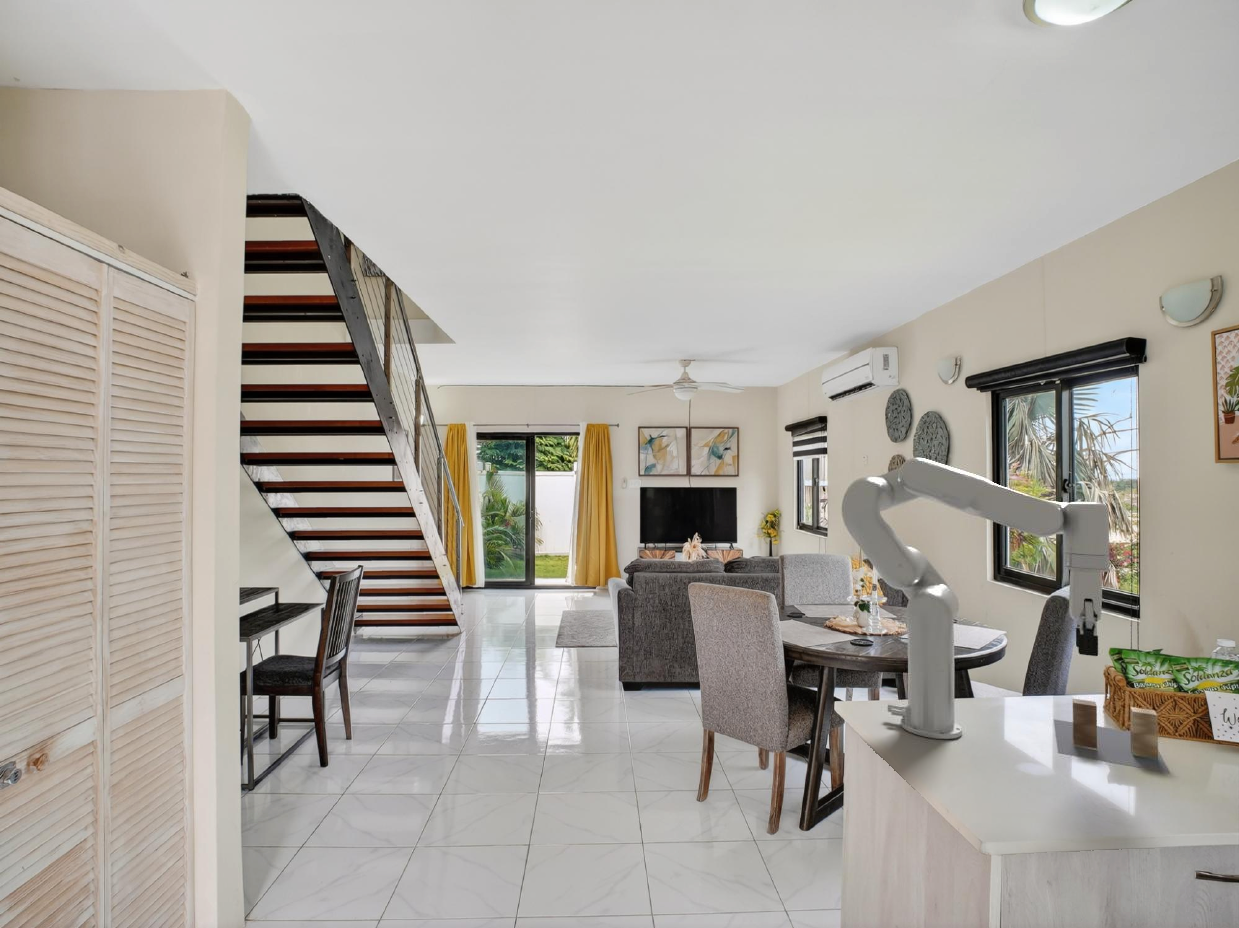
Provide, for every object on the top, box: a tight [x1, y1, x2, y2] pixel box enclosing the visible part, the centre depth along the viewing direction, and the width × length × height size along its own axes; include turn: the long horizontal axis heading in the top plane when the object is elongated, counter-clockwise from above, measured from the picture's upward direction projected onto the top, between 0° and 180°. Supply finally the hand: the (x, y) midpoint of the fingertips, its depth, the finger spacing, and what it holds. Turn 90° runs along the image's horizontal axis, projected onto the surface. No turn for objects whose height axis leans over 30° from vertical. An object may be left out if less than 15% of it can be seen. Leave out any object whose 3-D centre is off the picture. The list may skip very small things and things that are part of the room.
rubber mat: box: [1053, 718, 1171, 774], centre depth 145 cm, size 18×24×1 cm
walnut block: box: [1072, 698, 1098, 750], centre depth 143 cm, size 4×4×9 cm
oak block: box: [1129, 706, 1159, 761], centre depth 138 cm, size 4×4×9 cm
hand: (1086, 650), depth 138 cm, fingers open, 6 cm apart
